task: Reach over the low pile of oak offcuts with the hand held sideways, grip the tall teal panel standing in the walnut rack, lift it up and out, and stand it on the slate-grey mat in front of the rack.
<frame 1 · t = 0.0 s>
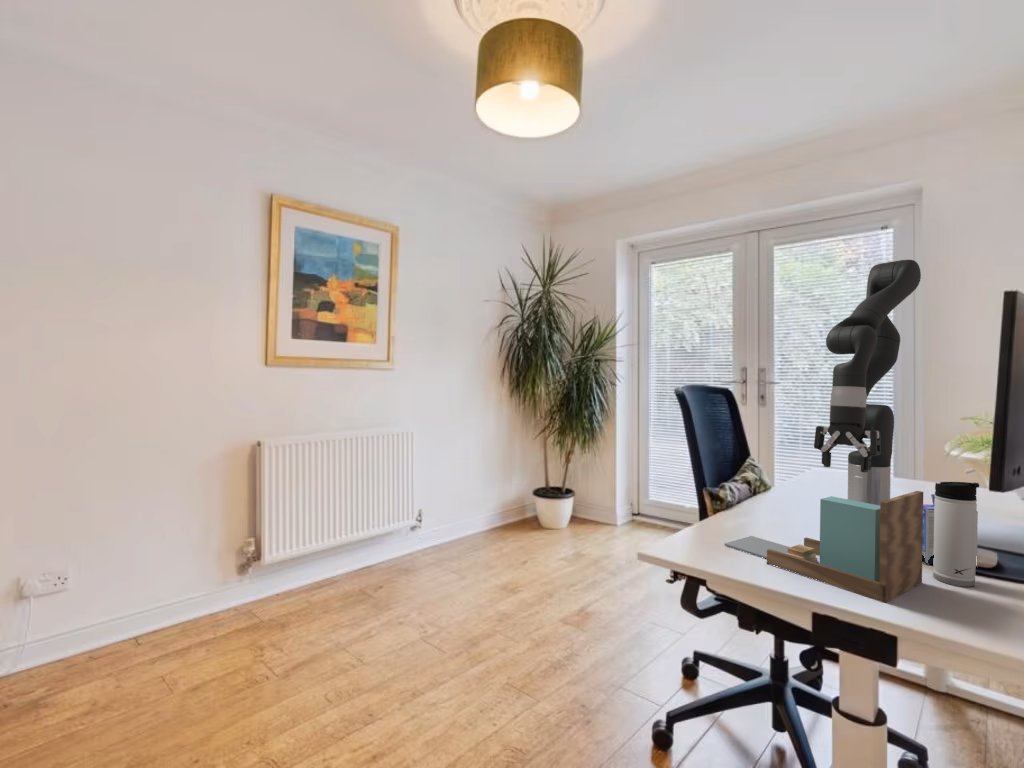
hand: (845, 469, 126), 17 cm above the table, tool pointing down, fingers open, 8 cm apart
slate mat: (761, 548, 117), on the table
offcut stack: (800, 562, 110), on the table
teal panel: (851, 576, 101), resting in walnut rack
walnut rack: (840, 573, 103), on the table
travel mug: (954, 582, 99), on the table
ink cartridge box: (944, 563, 109), on the table
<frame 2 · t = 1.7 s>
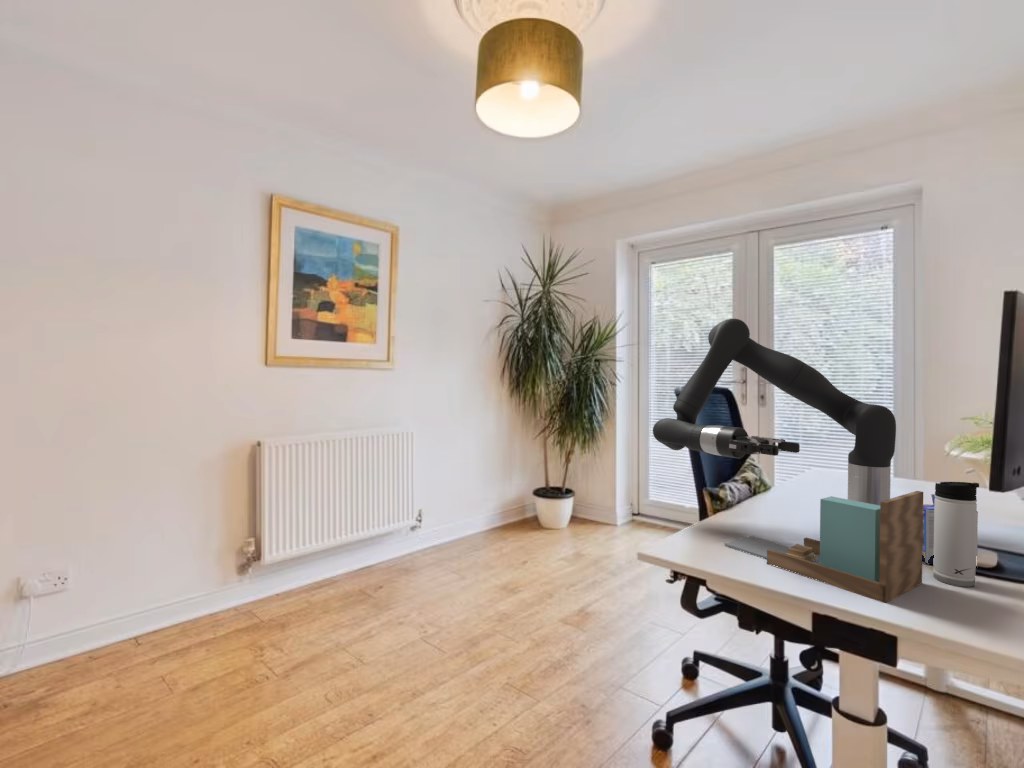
hand: (788, 449, 112), 24 cm above the table, tool horizontal, fingers open, 8 cm apart
nothing on the table moved.
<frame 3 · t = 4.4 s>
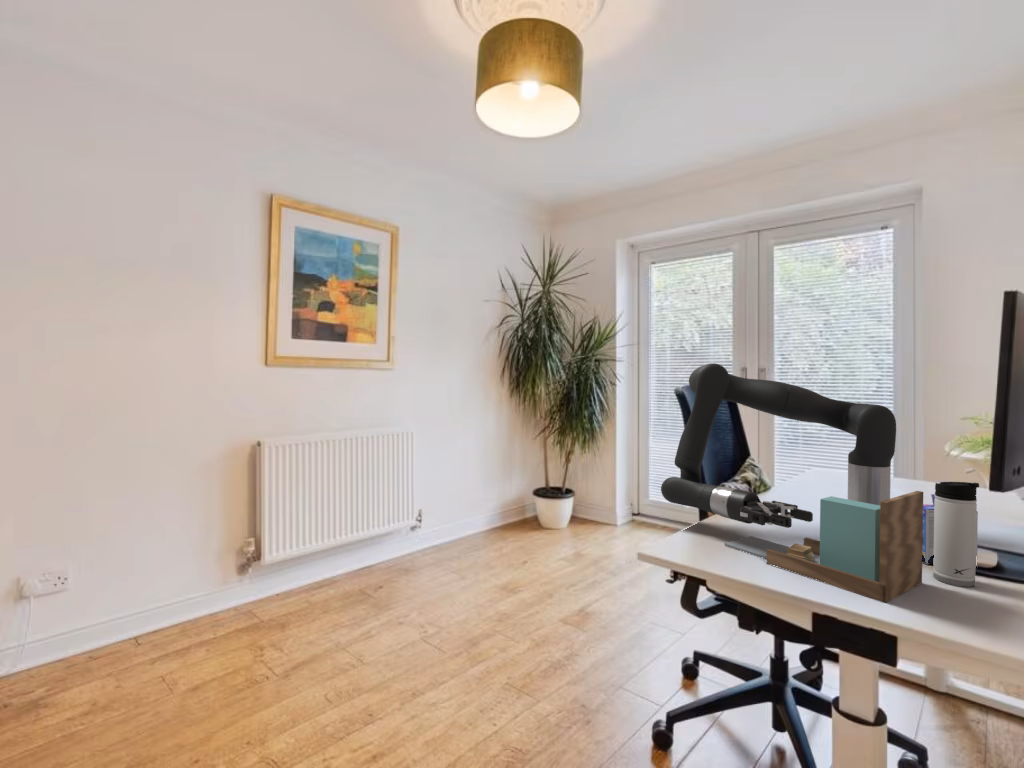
hand: (801, 520, 110), 9 cm above the table, tool horizontal, fingers open, 8 cm apart
nothing on the table moved.
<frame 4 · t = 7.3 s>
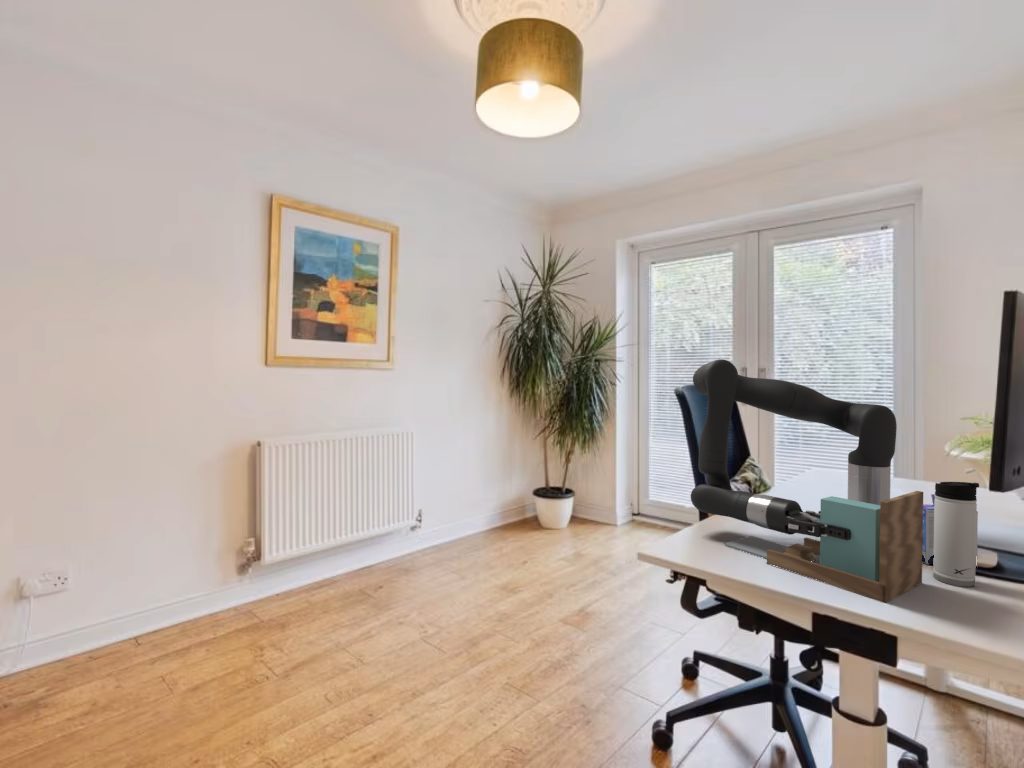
hand: (855, 532, 101), 9 cm above the table, tool horizontal, fingers closed on teal panel, 4 cm apart
teal panel: (851, 576, 101), resting in walnut rack, touching gripper
everything else where it was.
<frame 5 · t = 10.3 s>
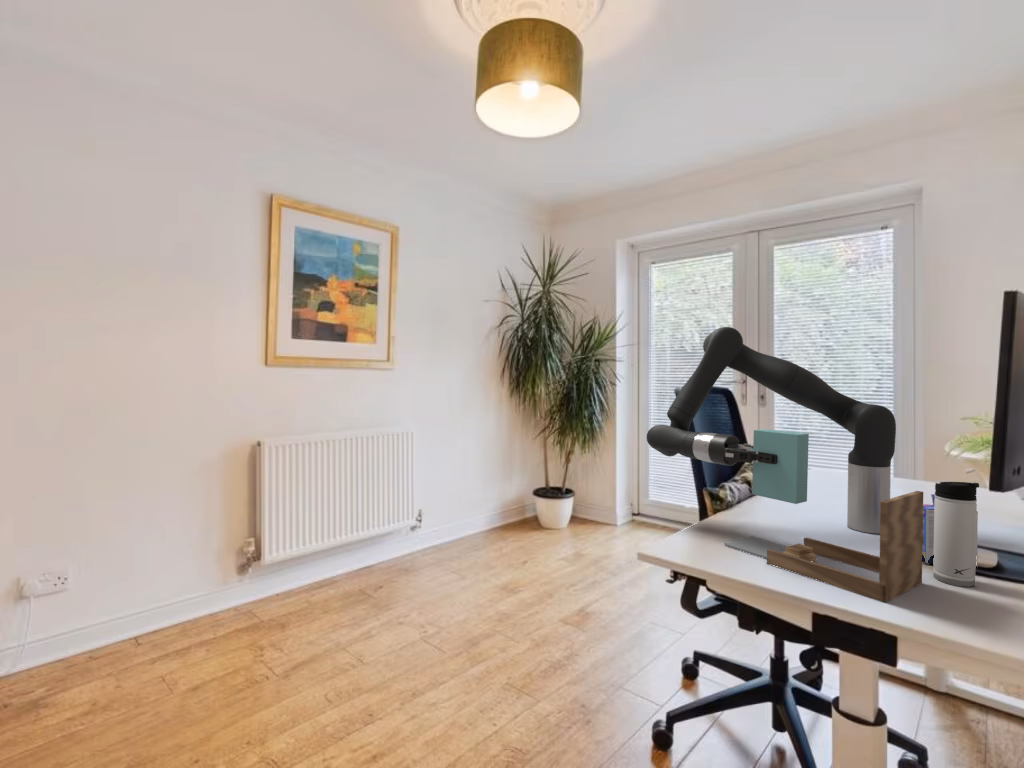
hand: (782, 458, 113), 22 cm above the table, tool horizontal, fingers closed on teal panel, 4 cm apart
teal panel: (778, 497, 114), point 13 cm above the table, touching gripper
everything else where it was.
when the fingers open (11 cm above the table, at t = 13.7 s): teal panel drops 1 cm, resting on slate mat.
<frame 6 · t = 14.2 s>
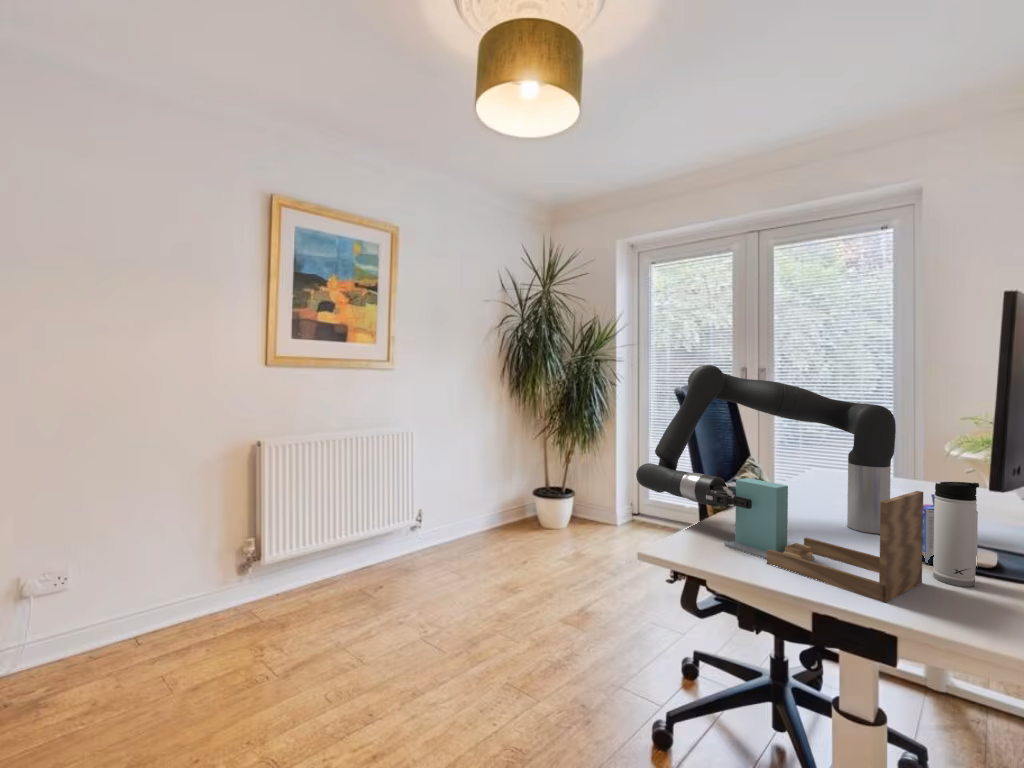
hand: (761, 502, 117), 11 cm above the table, tool horizontal, fingers open, 8 cm apart
teal panel: (760, 546, 118), resting on slate mat
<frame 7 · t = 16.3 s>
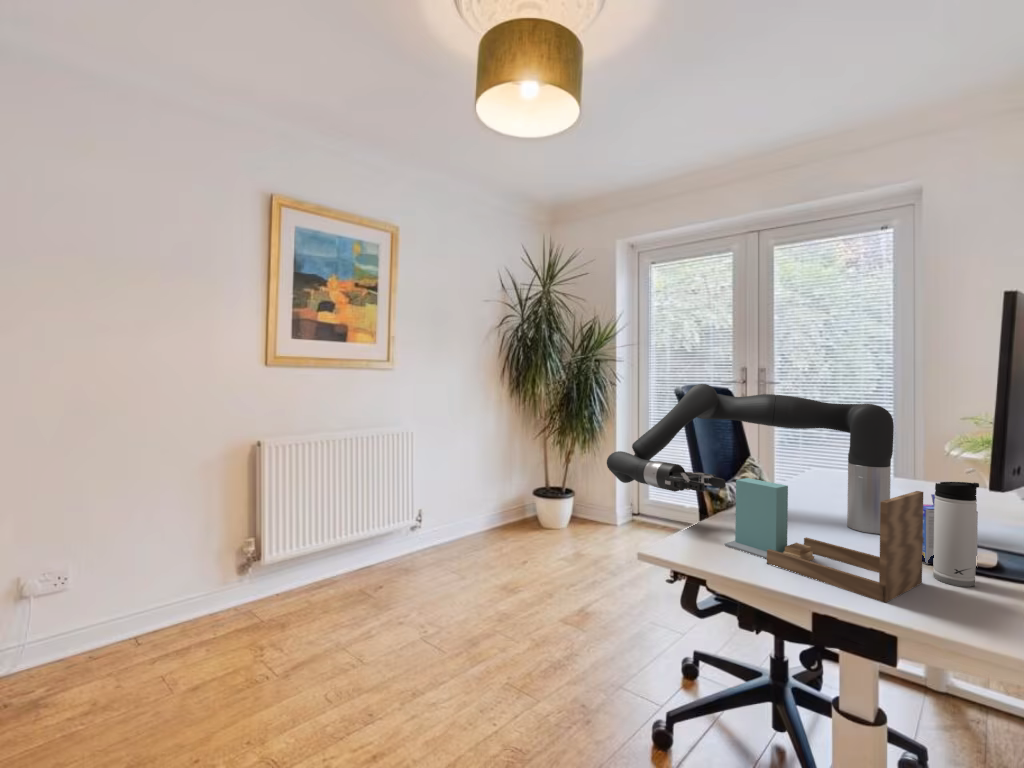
hand: (714, 485, 128), 12 cm above the table, tool horizontal, fingers open, 8 cm apart
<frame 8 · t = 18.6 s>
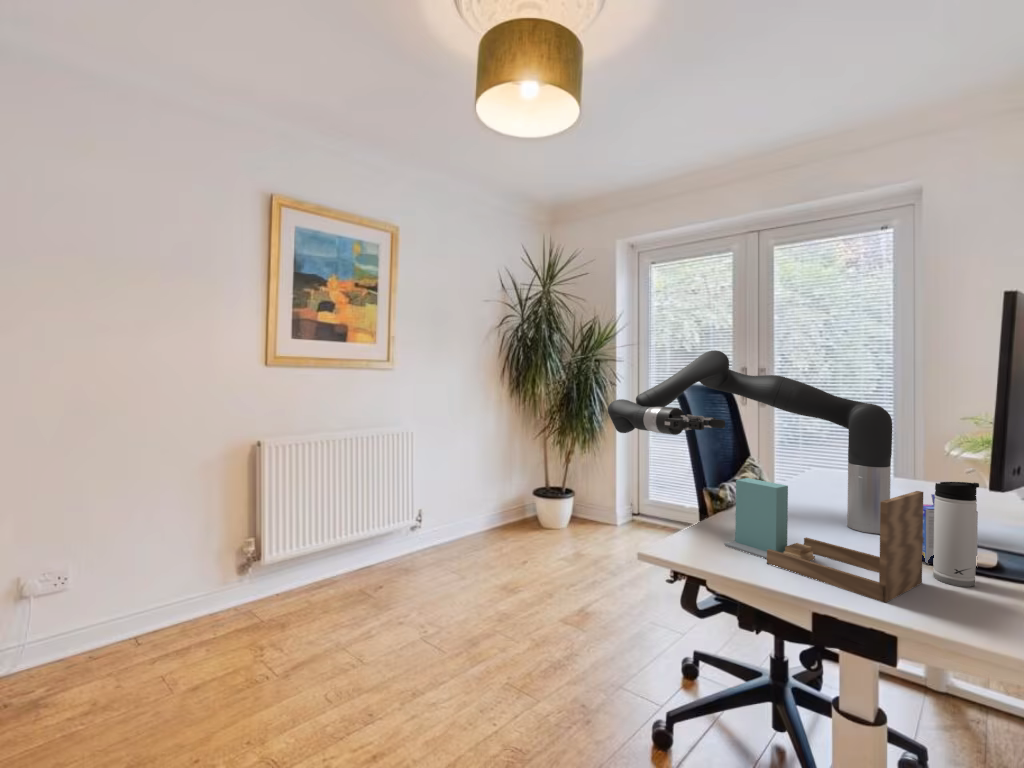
hand: (714, 425, 128), 28 cm above the table, tool horizontal, fingers open, 8 cm apart
at the end: teal panel inside the target area on the slate mat (0.3 cm from its centre), point 0.5 cm above the slate mat's base; teal panel tilted 0°; the gripper is holding nothing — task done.
